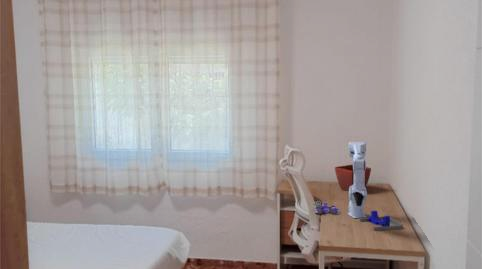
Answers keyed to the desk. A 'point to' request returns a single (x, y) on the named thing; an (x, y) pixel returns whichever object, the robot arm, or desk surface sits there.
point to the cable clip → (376, 220)
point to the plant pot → (349, 176)
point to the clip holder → (397, 226)
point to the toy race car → (326, 208)
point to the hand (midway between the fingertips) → (358, 205)
